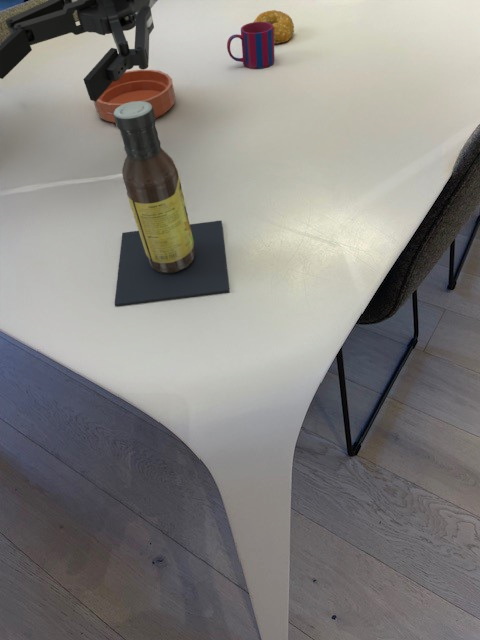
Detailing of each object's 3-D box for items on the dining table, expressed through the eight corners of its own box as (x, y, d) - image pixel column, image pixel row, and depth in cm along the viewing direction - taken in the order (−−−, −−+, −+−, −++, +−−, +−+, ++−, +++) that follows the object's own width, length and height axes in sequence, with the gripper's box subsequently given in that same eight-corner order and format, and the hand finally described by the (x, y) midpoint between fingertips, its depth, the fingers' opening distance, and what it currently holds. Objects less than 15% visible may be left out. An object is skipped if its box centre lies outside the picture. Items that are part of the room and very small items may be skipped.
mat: (115, 306, 60) (114, 304, 60) (123, 234, 69) (122, 232, 69) (229, 292, 60) (229, 289, 59) (221, 222, 69) (221, 220, 69)
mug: (278, 65, 103) (277, 29, 98) (232, 74, 103) (229, 38, 97) (269, 54, 108) (268, 19, 103) (225, 62, 107) (221, 27, 102)
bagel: (239, 41, 114) (237, 18, 111) (273, 27, 119) (272, 4, 115) (268, 51, 109) (267, 27, 106) (303, 36, 113) (303, 12, 110)
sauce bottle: (206, 256, 64) (179, 105, 49) (169, 283, 61) (129, 131, 46) (174, 237, 67) (139, 89, 52) (138, 261, 64) (91, 112, 50)
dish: (94, 130, 91) (87, 109, 88) (102, 95, 101) (96, 75, 98) (175, 120, 91) (171, 98, 88) (175, 86, 101) (171, 65, 98)
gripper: (41, -54, 68) (-59, 29, 59) (204, -27, 63) (124, 69, 53) (60, 3, 75) (-27, 86, 65) (210, 32, 69) (139, 128, 60)
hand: (40, 79), depth 59 cm, fingers open, 13 cm apart
